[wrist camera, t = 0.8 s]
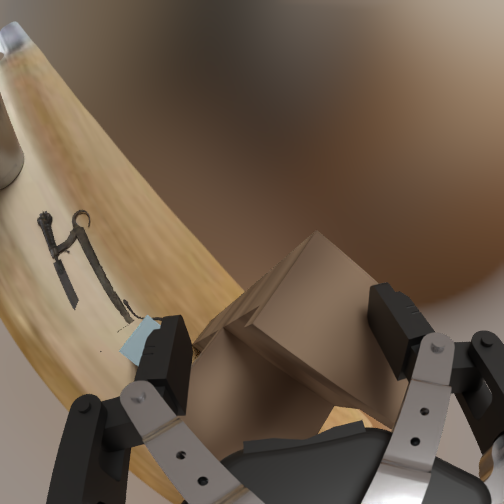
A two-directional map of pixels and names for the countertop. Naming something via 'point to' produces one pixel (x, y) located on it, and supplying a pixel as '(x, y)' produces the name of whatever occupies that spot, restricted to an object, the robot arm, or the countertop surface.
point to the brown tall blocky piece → (291, 355)
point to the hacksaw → (80, 233)
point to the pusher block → (138, 340)
